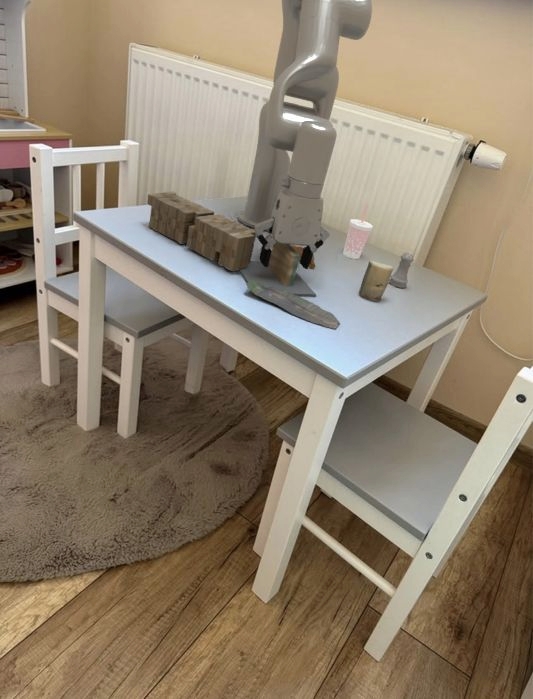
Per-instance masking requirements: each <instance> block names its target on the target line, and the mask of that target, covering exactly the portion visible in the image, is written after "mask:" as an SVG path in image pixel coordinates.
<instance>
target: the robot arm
mask: <svg viewBox="0 0 533 699" xmlns="http://www.w3.org/2000/svg"><path fill="white" fill-rule="evenodd" d="M372 6H373V3H372V0H281V8H282V9H281V10H282V11H281V12H282V32H281V38H280V41H279V48H278V52H277V58H276V62H275V69H274V72H273V73H274V74H273V81H272V82H273V86H272V89H271V91H270V95H269V97H268V98H269V99H268V101H266V103H264V104H263V105H262V107H261V110H260V113H259V119H258V136H257V144H256V146H257V147H256V151H255V156H254V162H253V166H252V167H253V168H252V171H251V172H252V173H251V177H250V183H249V188H248V193H247V199H246V203H245V207H244V211H241V212H238V215H237V220H238V221H239V222H240V224H241V223H242V225H244V226H246V227H248V228H249V227H250V228H252V229H253V230H254V231H255V232H256V237H255V238H257V240H258V242H260V244H261V249H260V252H259V261H260V262H261V263H262V264H263V266H264V267H268V265H269V261H270V257H271V252H272V247H273V245H274V244H275V243H276V242H277V243H281V244H290V245H295V246H304V247H303V248H304V249H303V252H302V256H301V260H300V262H299V265H300V266H301V267H302V268H303V269H304V270H309V268H310V267H309V264H310V263H311V260H312V256H313V254H315V253H316V252H317V251H318V250H319V248H321V247H322V246H323V245H324V243H325V242H326V241H327V239H328V238H329V237H330V232H328V231H327V230H326V229H324V228H323V227H322V226H321V225H322V219H323V213H324V198H322V197H321V196H322V192H323V188H324V185H325V181H326V178H327V174H328V170H329V167H330V163H331V159H332V155H333V153H334V148H335V144H336V140H337V136H338V134H337V130H336V129H335V128H334V125H333V123H332V122H331V121H330V119H331V115H332V112H333V107H334V103H335V101H336V100H335V99H336V97H337V92H338V87H339V79H340V76H339V74H340V73H339V69H338V67H337V64H338V55H339V54H338V53H339V45H340V37H341V38H346V39H350V40H353V41H358V40H361V39H363V37H364V36H365V35H366V33H367V32H368V29H369V27H370V24H371V21H372V20H371V19H372V14H373V13H372V12H373V7H372ZM285 96H286V97H290V98H293V99H298V100H303V101H307V102H310V103H312V107H309V106H304V105H300V104H297V103H294V102H288V101H285ZM288 152H292V154H291V158H290V156H289V154H288ZM264 231H267V235H265V236H264V233H263V232H264Z"/></svg>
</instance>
